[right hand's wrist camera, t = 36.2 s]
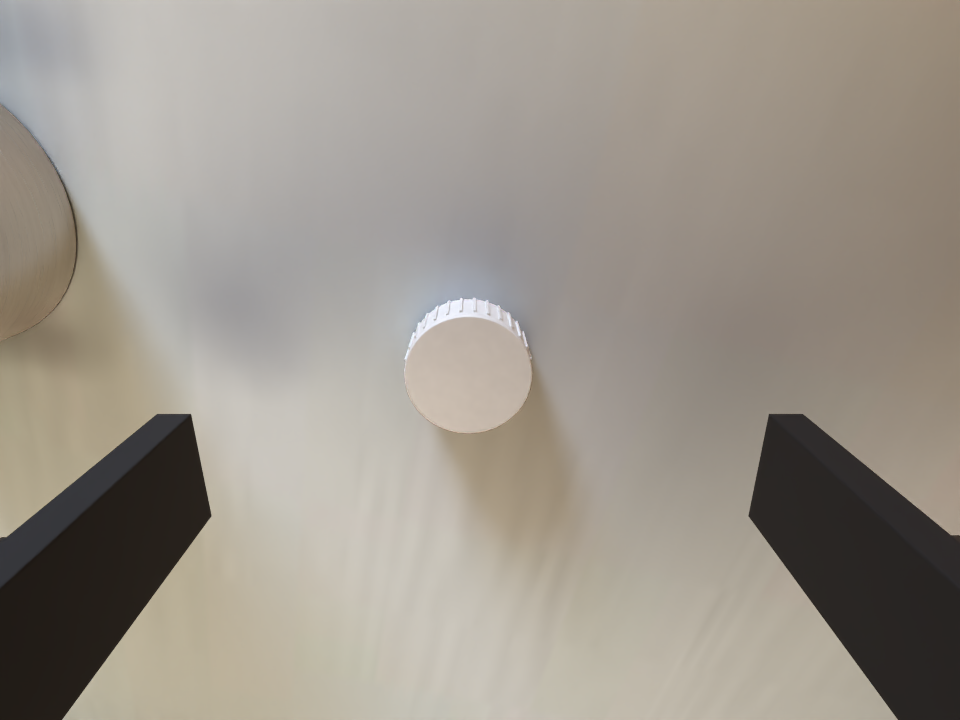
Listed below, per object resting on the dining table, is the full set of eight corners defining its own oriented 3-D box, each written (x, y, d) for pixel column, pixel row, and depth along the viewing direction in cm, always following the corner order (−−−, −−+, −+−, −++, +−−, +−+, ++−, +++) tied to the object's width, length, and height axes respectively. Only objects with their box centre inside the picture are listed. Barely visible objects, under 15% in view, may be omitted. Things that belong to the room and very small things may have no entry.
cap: (419, 285, 18) (413, 302, 16) (540, 309, 18) (548, 328, 16) (400, 396, 19) (393, 423, 17) (513, 416, 19) (517, 445, 18)
